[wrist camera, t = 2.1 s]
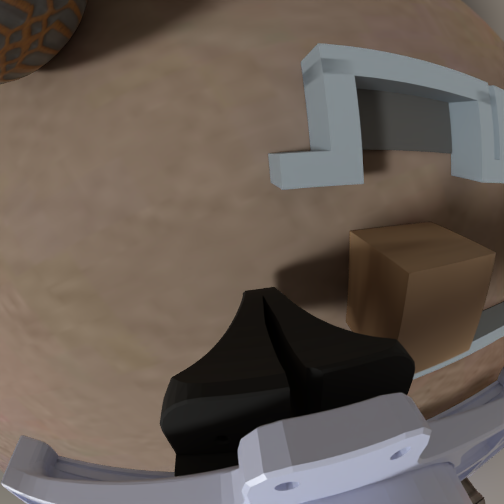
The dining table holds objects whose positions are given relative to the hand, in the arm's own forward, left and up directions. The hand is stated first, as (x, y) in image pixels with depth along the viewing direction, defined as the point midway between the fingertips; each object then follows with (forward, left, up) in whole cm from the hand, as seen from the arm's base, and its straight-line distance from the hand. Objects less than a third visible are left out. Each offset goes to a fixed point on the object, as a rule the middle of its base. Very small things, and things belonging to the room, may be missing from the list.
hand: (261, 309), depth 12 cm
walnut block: (0, -7, -2) cm, 7 cm away
